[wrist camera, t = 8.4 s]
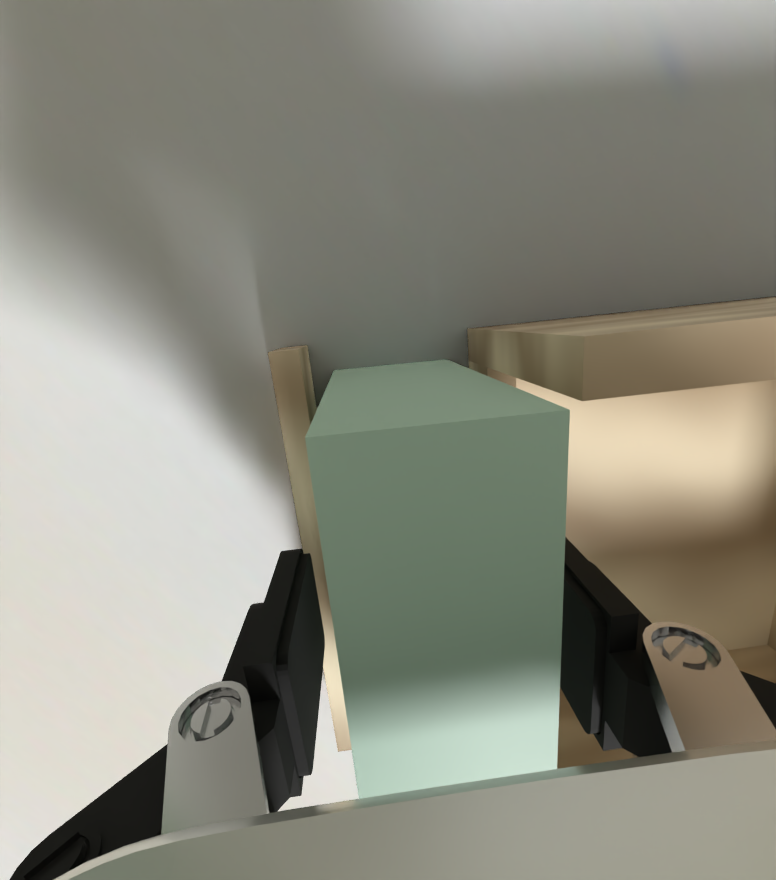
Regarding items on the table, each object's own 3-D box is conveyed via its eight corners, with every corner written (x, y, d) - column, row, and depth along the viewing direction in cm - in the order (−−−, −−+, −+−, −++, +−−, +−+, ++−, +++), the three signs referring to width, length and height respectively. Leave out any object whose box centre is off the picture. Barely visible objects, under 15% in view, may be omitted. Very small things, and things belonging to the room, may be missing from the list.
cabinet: (281, 347, 13) (165, 388, 5) (831, 290, 13) (1458, 249, 6) (345, 735, 17) (336, 1070, 10) (757, 677, 18) (1056, 943, 10)
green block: (334, 369, 13) (304, 437, 5) (445, 359, 13) (569, 409, 6) (370, 662, 16) (383, 963, 9) (459, 650, 17) (551, 934, 9)
